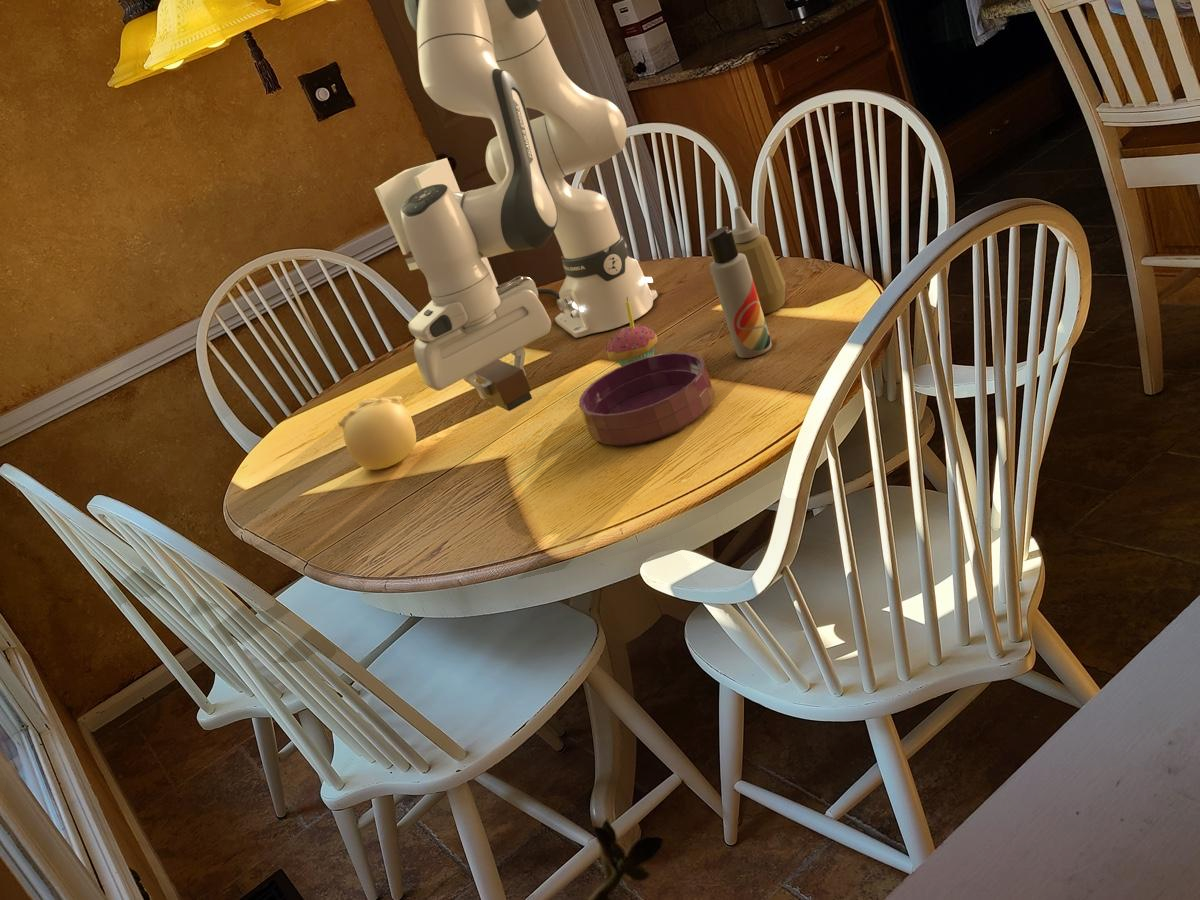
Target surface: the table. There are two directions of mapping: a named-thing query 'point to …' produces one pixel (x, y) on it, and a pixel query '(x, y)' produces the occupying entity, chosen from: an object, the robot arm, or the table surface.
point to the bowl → (647, 399)
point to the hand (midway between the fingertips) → (503, 387)
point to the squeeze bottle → (759, 262)
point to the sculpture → (379, 432)
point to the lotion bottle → (738, 295)
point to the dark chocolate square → (505, 384)
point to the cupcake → (631, 342)
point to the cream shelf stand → (405, 186)
